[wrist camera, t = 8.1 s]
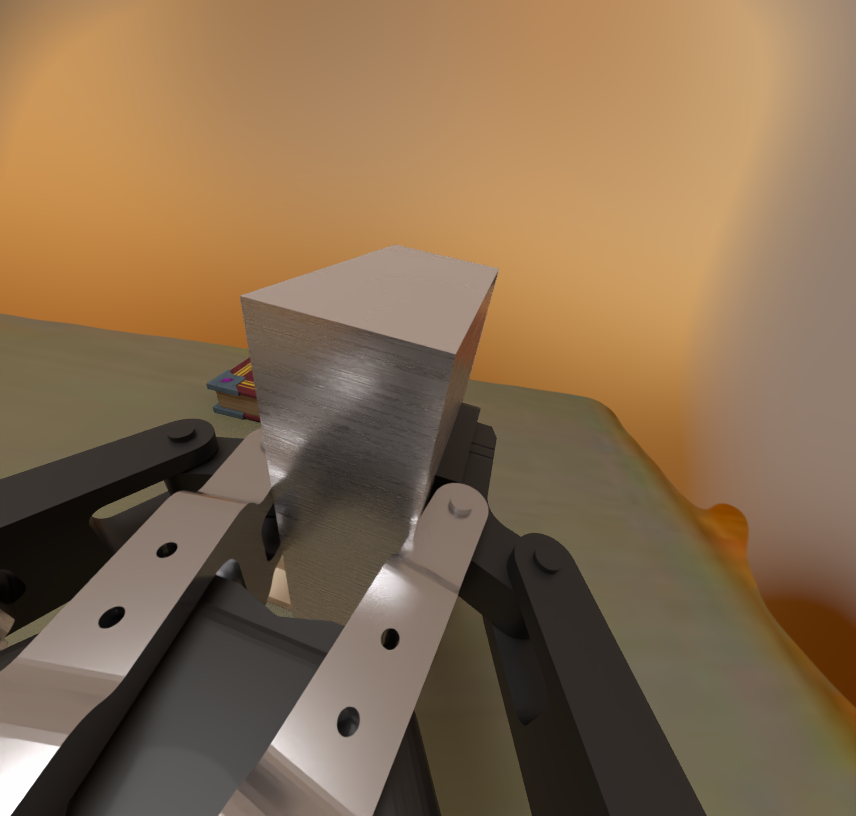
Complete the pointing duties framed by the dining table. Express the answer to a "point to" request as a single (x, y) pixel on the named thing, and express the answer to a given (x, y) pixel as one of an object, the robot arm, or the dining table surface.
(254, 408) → the decorative book
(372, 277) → the aluminium block
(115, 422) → the dining table surface
